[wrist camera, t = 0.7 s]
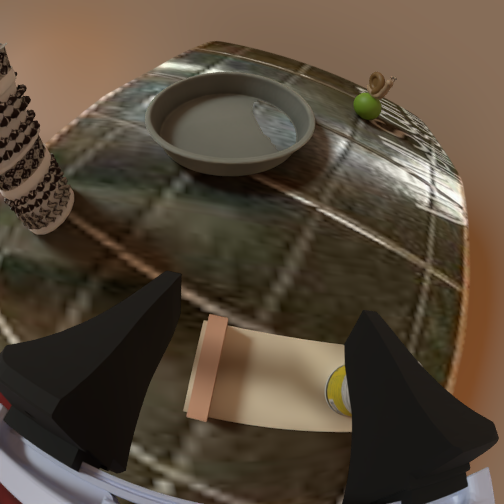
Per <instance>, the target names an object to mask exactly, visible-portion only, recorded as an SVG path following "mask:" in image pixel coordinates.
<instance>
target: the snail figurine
mask: <svg viewBox="0 0 504 504" xmlns="http://www.w3.org/2000/svg"><path fill="white" fill-rule="evenodd" d="M391 79H394V80H396V79H397V78H396V77H393V76H391ZM369 84H370V85H369ZM369 84H368V85H367V90H368V93H362V94H360V95H358V96H357V97H356V98H355V100H354V109H355V112H356V113H357V114H358V115H359V116H360V117H361V118H363V119H366V120H372V119H375V118H377V117H378V116H379V115H380V113H381V103H380V101H379V99H382V98H383V97H384V96H385V95H386V94H387V93H388V91H389V90H390V88H391V87H392V86H393V82H392V81H391V80H387V81H386V83H385V79H384V77H383V75H382V74H381V73H379V72H374V73H373V74H372V75H371V76H370V80H369Z"/></svg>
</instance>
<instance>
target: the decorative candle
mask: <svg viewBox="0 0 504 504" xmlns="http://www.w3.org/2000/svg"><path fill="white" fill-rule="evenodd" d="M6 44H7V43H5V44H1V43H0V192H1V194H2V195H3V196H4V197H5V198H4V201H5V203H6V204H7V203H8V205H9V206H10V208H11V210H12V211H13V210H14V212H15V213H16V214H17V217H18V219H20V220H21V221H22V222H23V224H24V225H25V226H27V227H28V228H29V230H30V231H31V232H33V233H34V234H36V235H45V234H47V233H49V232H51V231H54V230H55V229H56V228H57V227H59V226H60V225H61V224H62V223H63V222H64V221H65V219H66V218H67V216H68V215H69V214H70V212H71V210H72V207H73V204H74V192H73V191H72V189H71V186H70V185H66V184H67V182H68V180H66V177H62V176H63V174H64V173H63V172H60V171H61V168H60V167H58V163H57V162H56V159H55V158H54V155H53V154H50V153H49V151H48V149H47V148H46V146H45V144H44V143H42V141H41V139H40V137H39V131H40V128H39V127H40V124H39V123H38V121H33V119H34V117H35V113H34V111H33V110H27V111H26V107H27V106H28V104H29V103H30V101H31V99H30V98H29V96H23V97H21V96H22V95H23V94H24V92H25V91H26V86H25V85H18V87H16V85H15V79H16V76H17V72H14V70H13V67H12V66H10V63H9V60H8V57H7V54H6V51H5V47H4V46H5V45H6Z"/></svg>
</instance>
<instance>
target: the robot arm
mask: <svg viewBox="0 0 504 504" xmlns="http://www.w3.org/2000/svg"><path fill="white" fill-rule="evenodd" d="M181 276H182V274H179V273H175V272H171V271H165V272H164V273H162V274H161V275H159V276H158V277H157V278H155V279H154V280H152V281H151V282H150V283H148V284H147V285H145V286H144V287H143V288H141V289H140V290H138V291H137V292H135V293H134V294H132V295H131V296H129V297H128V298H126V299H125V300H123V301H122V302H120V303H119V304H117V305H115V306H114V307H112V308H110V309H109V310H107V311H105V312H103V313H102V314H100V315H98V316H96V317H94V318H92V319H90V320H88V321H86V322H84V323H81V324H79V325H76V326H74V327H71V328H69V329H67V330H64V331H62V332H59V333H56V334H53V335H50V336H46V337H43V338H39V339H36V340H32V341H27V342H22V343H17V344H12V345H7V346H6V347H5V348H4V349H3V351H2V352H1V353H0V392H1V393H2V395H3V396H4V397H5V398H6V399H7V400H8V402H9V403H10V404H11V405H12V406H11V407H10V409H9V410H8V409H7V408H6V407H5V406H3V405H2V404H1V403H0V482H1V483H2V485H3V486H4V487H5V488H6V489H7V490H8V491H9V492H11V493H12V494H13V495H14V496H15V497H16V498H17V499H18V500H19V501H20V502H21V503H22V504H120V503H119V502H118V499H117V498H116V496H118V497H120V498H122V499H125V500H127V501H130V502H133V503H135V504H201V503H196V502H192V501H188V500H184V499H180V498H176V497H172V496H169V495H165V494H162V493H158V492H155V491H152V490H149V489H146V488H143V487H140V486H138V485H135V484H132V483H130V482H127V481H125V480H122V479H120V478H117V477H115V476H112V475H110V474H108V473H106V472H103V471H101V470H99V468H102V469H104V470H106V471H109V470H110V471H112V472H115V473H121V472H124V471H126V466H127V461H128V456H129V452H130V447H131V443H132V439H133V435H134V431H135V427H136V424H137V420H138V417H139V413H140V410H141V407H142V404H143V401H144V398H145V395H146V392H147V389H148V386H149V384H150V381H151V379H152V377H153V375H154V373H155V371H156V369H157V367H158V364H159V362H160V360H161V358H162V356H163V354H164V352H165V350H166V348H167V346H168V344H169V342H170V340H171V338H172V336H173V334H174V331H175V328H176V325H177V322H178V319H179V317H180V314H181ZM344 357H345V371H346V378H347V385H348V391H349V398H350V405H351V414H352V444H351V458H350V466H349V474H348V480H347V485H346V490H345V495H344V499H343V502H342V504H495V500H494V493H493V487H492V481H491V476H490V472H489V467H486V468H484V469H482V470H480V471H478V472H476V473H473V474H471V475H469V476H466V471H468V470H470V464H469V462H471V461H472V460H474V459H475V458H477V457H478V456H480V455H481V454H483V453H484V452H486V451H487V450H488V449H490V448H491V447H492V446H494V445H495V444H496V443H497V441H498V439H499V437H498V434H497V431H496V428H495V425H494V423H493V422H492V421H490V420H488V419H487V418H485V417H483V416H481V415H480V414H478V413H476V412H475V411H473V410H472V409H470V408H468V407H467V406H466V405H464V404H463V403H462V402H460V401H459V400H458V399H456V398H455V397H454V396H453V395H452V394H450V393H449V392H448V391H447V390H446V389H444V388H443V387H442V386H441V385H440V384H439V383H438V382H437V381H436V380H435V379H434V378H433V377H432V376H431V375H430V374H429V373H428V372H427V371H426V370H425V369H424V368H423V367H422V366H421V365H420V363H419V362H418V361H417V360H416V359H415V358H414V357H413V355H412V354H411V353H410V352H409V351H408V349H407V348H406V347H405V346H404V344H403V343H402V342H401V341H400V340H399V338H398V337H397V336H396V335H395V333H394V332H393V331H392V330H391V328H390V327H389V326H388V325H387V323H386V322H385V321H384V320H383V319H382V318H381V316H380V315H379V314H378V313H377V312H373V311H367V310H363V311H362V313H361V315H360V317H359V319H358V321H357V323H356V325H355V326H354V328H353V330H352V332H351V334H350V335H349V337H348V339H347V341H346V342H345V344H344ZM114 495H115V496H114Z"/></svg>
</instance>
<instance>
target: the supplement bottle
mask: <svg viewBox="0 0 504 504" xmlns="http://www.w3.org/2000/svg"><path fill="white" fill-rule="evenodd" d="M420 365H421V364H420ZM421 366H422V365H421ZM325 399H326V402H327V404H328V406H329V407H330V408H331V409H332V410H333V411H334V412H336V413H338V414H340V415H344V416H350V417H352V414H351V405H350V398H349V391H348V385H347V378H346V371H345V364H344V365H342V366H340V367H338V368H337V369H335V370H334V371H333V372H332V373H331V374H330V376H329V377H328V379H327V382H326V385H325Z"/></svg>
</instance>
